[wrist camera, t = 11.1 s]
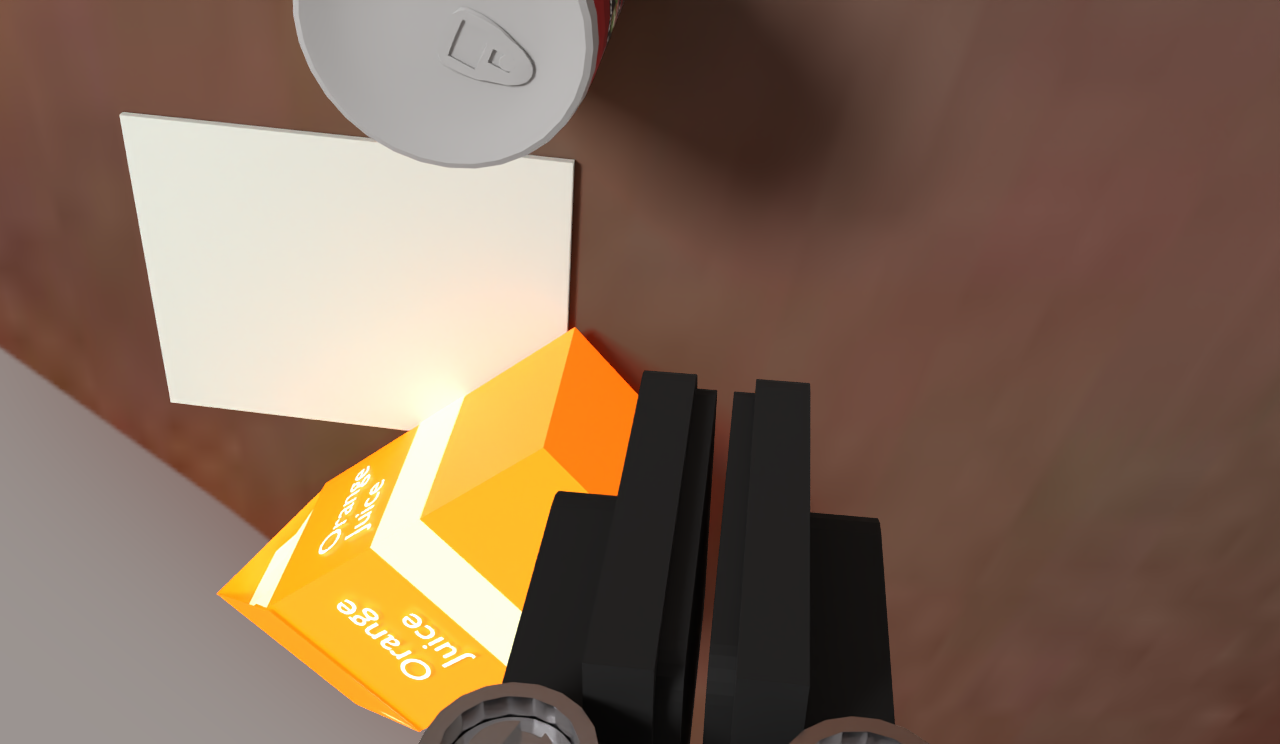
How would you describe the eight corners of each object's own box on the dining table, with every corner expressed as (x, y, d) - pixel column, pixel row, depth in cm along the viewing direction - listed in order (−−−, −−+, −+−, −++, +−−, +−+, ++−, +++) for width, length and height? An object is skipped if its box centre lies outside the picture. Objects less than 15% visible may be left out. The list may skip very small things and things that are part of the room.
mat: (574, 159, 45) (573, 163, 44) (563, 444, 52) (562, 448, 52) (123, 112, 46) (119, 115, 45) (173, 398, 53) (170, 402, 53)
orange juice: (708, 468, 51) (380, 642, 60) (573, 323, 48) (245, 530, 56) (696, 605, 45) (331, 777, 54) (540, 449, 41) (175, 661, 50)
